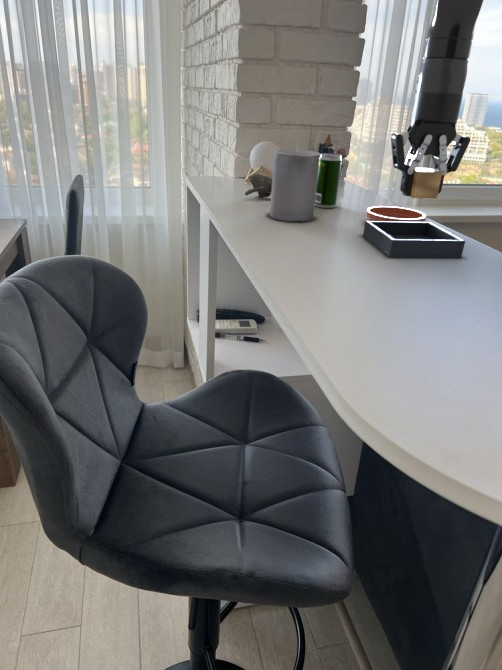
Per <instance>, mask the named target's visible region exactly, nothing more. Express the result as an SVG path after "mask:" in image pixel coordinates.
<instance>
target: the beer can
mask: <svg viewBox="0 0 502 670" xmlns="http://www.w3.org/2000/svg"><path fill="white" fill-rule="evenodd" d="M342 160H343V159H342V155H341V154H338V153H325V152H324V153H323V152H322V153H320V158H319V168H318V177H317V187H316V197H315V207H317V208H320V209H335V207H336V206H337V202H338V201H337V200H338V193H339V187H340V179H341V178H340V176H341V169H342V168H341V167H342Z"/></svg>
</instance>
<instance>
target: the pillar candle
mask: <svg viewBox="0 0 502 670" xmlns="http://www.w3.org/2000/svg"><path fill="white" fill-rule="evenodd" d="M299 146H300V145H299V144H298V145H297V146H296V147H297V148H278V149H274V151H273V153H274V154H273V165H272V177H271V178H272V191H271V195H270V207H269V216H270V217H271V218H273V219H274V220H279V221H284V222H310V221H312V220H313V219H314V214H315V207H316V206H315V197H316V187H317V177H318V168H319V158H320V154H321V152H319V151H314V150H307V149H301V148H300V149H299Z"/></svg>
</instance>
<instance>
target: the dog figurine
mask: <svg viewBox="0 0 502 670" xmlns="http://www.w3.org/2000/svg"><path fill="white" fill-rule="evenodd" d="M247 178H248V180H249V183H250V184H252V188H250V189H248V190H247V191H245V192H244V195H245V196H248V195H252V194H253V193H257V198H269V197H271V191H272V177H270V176H268V175H263V174H261V173H252V174H250V175H248V177H247Z"/></svg>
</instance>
